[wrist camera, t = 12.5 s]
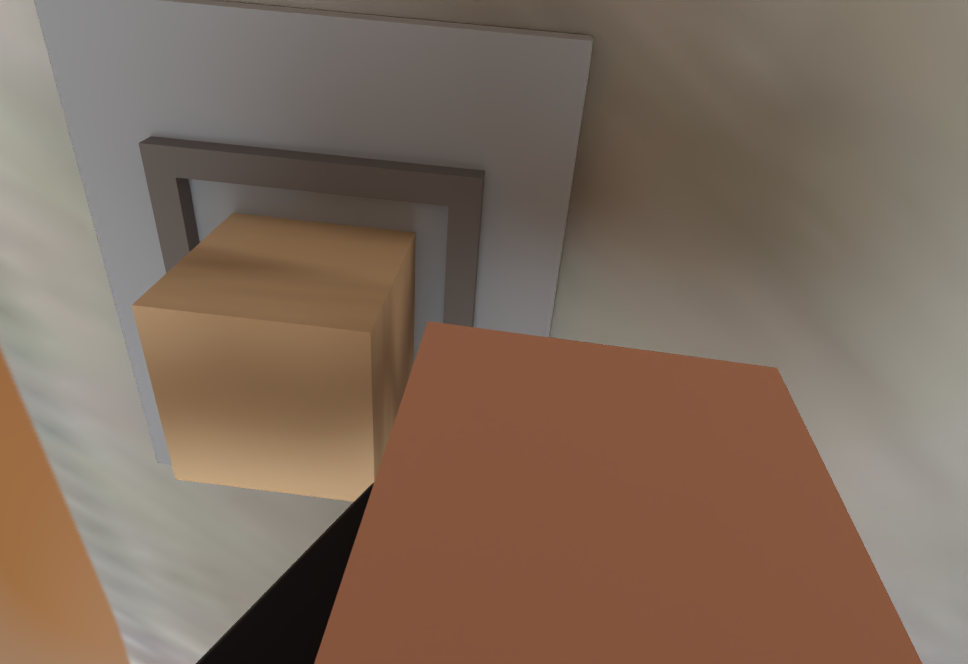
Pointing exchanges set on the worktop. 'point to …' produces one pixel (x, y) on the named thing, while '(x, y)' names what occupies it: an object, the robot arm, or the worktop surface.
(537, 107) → the grey flat square plate
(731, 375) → the terracotta block
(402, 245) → the oak cube
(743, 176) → the worktop surface
